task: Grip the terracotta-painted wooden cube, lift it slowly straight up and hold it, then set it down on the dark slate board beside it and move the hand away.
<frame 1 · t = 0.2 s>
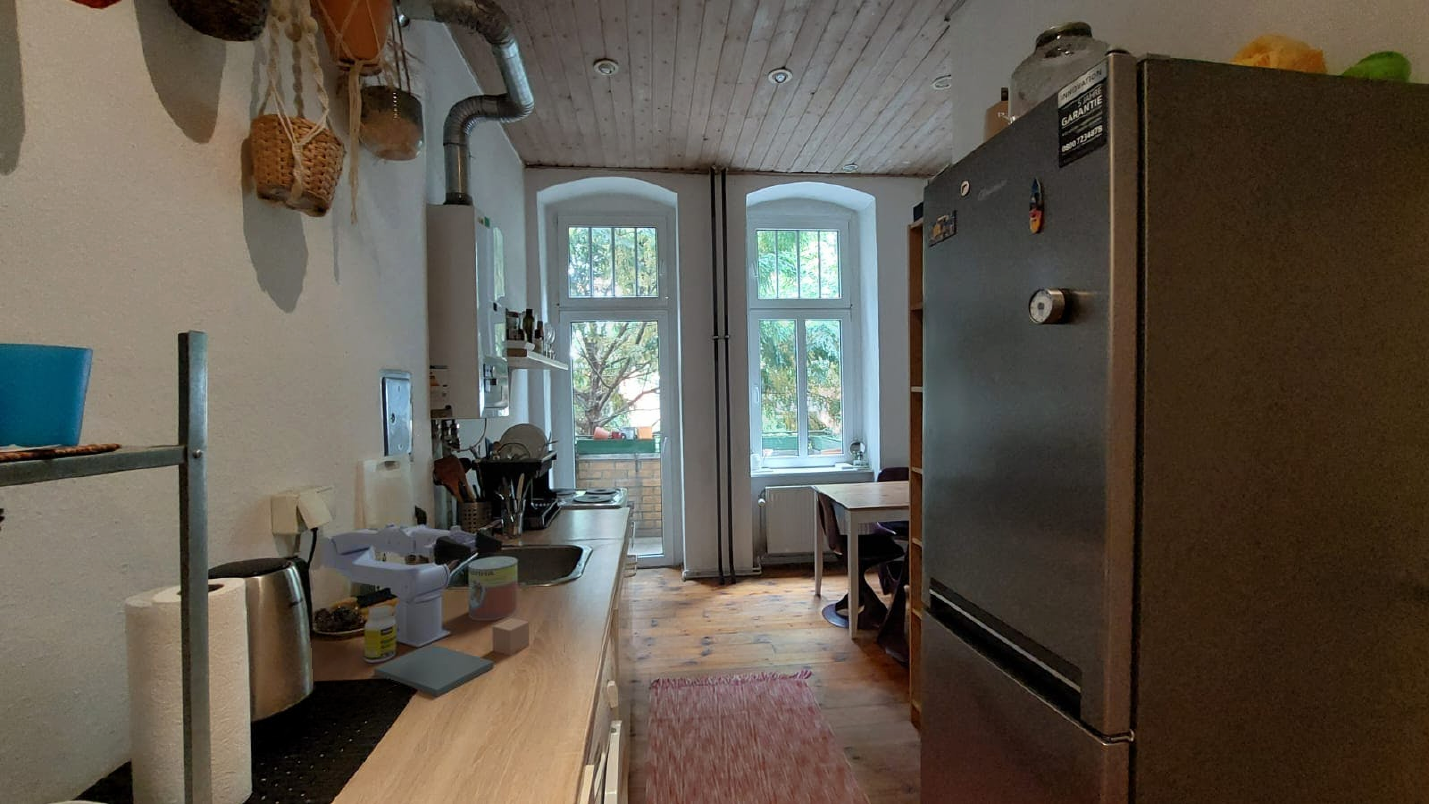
hand: (485, 549, 114), 21 cm above the counter, tool horizontal, fingers open, 7 cm apart
supplement bottle: (380, 658, 114), on the counter
canned food: (493, 612, 139), on the counter
terracotta cube: (511, 648, 118), on the counter
slate board: (434, 671, 108), on the counter
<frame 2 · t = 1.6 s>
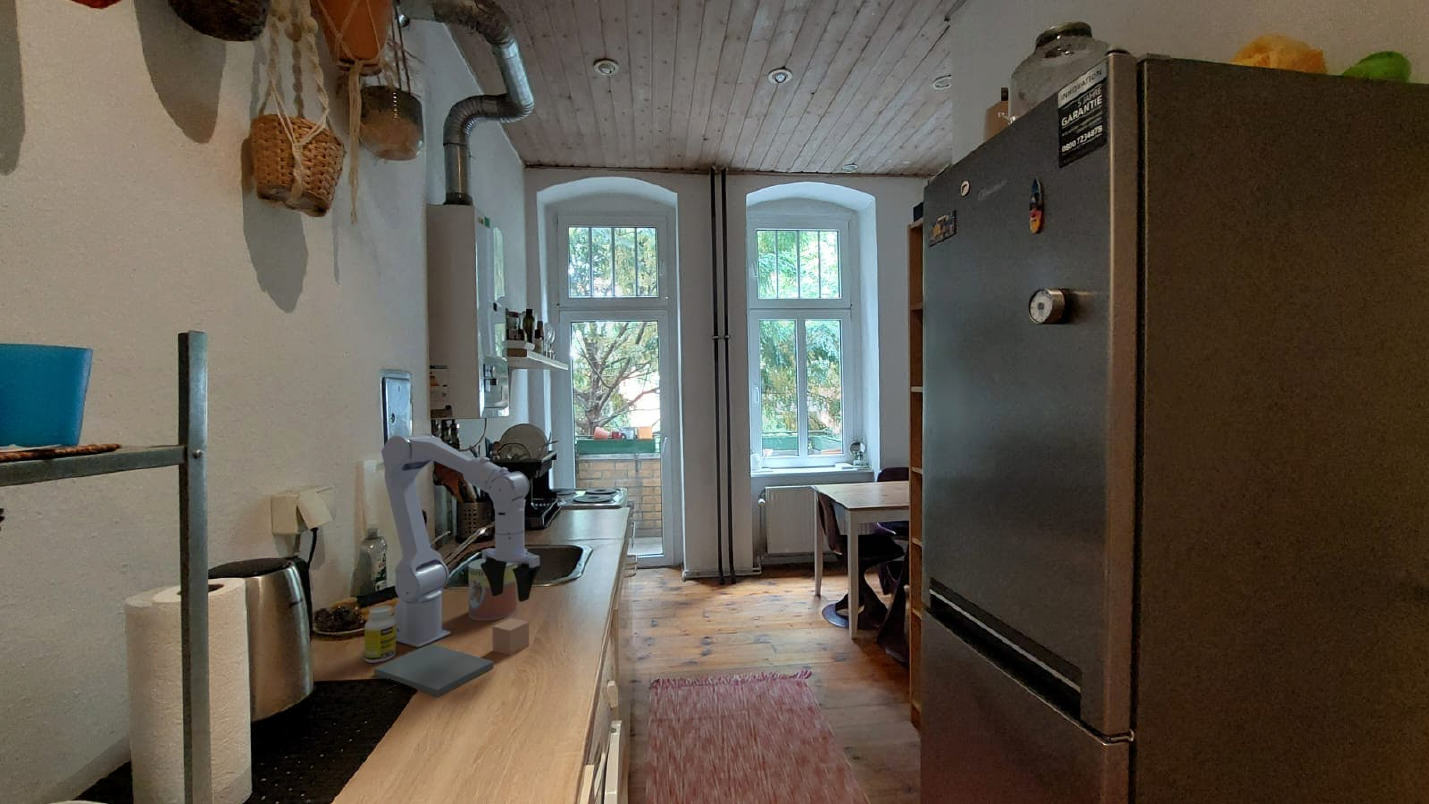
hand: (510, 597, 118), 10 cm above the counter, tool pointing down, fingers open, 7 cm apart
nothing on the counter moved.
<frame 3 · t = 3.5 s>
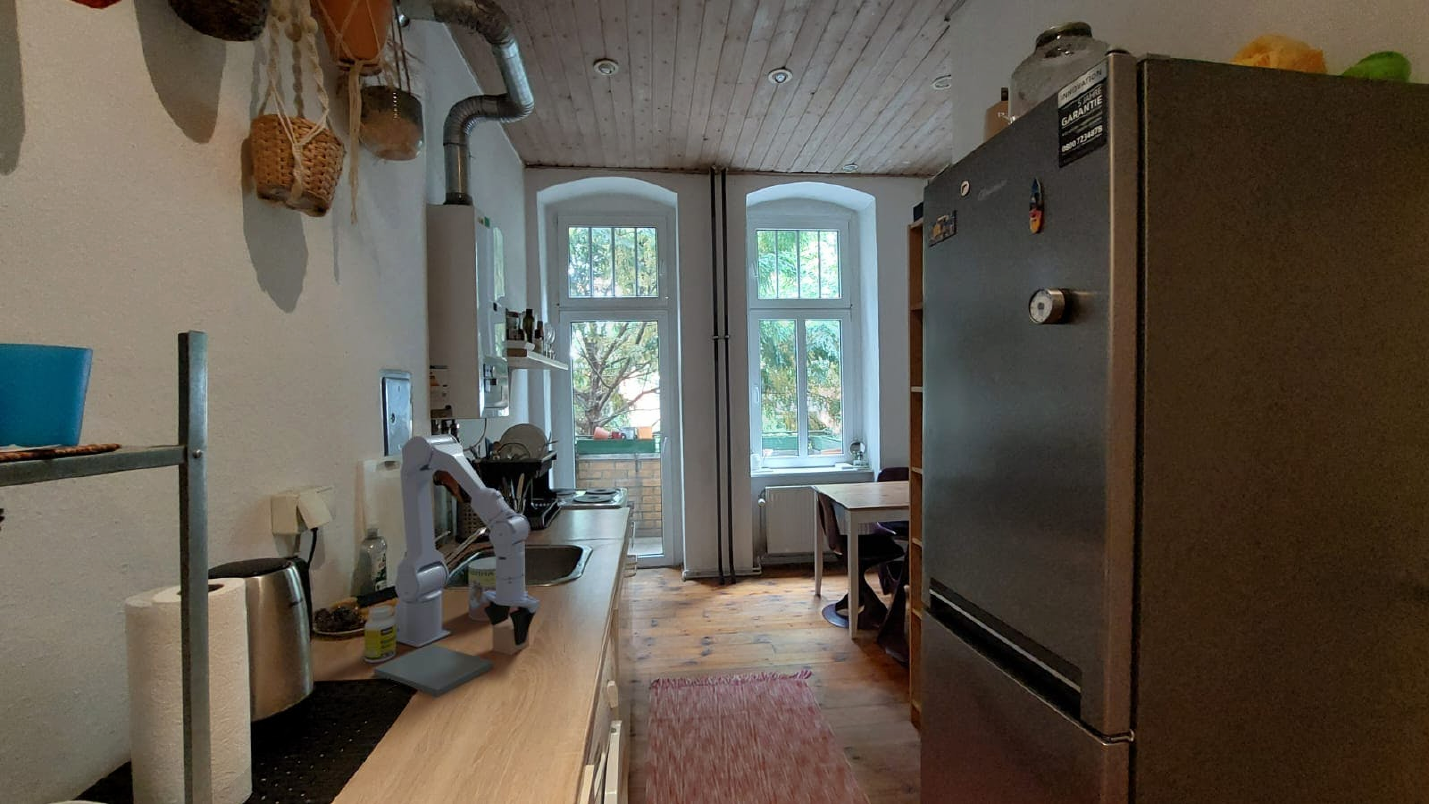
hand: (511, 640, 118), 1 cm above the counter, tool pointing down, fingers closed on terracotta cube, 5 cm apart
terracotta cube: (511, 647, 118), on the counter, touching gripper
everything else where it was.
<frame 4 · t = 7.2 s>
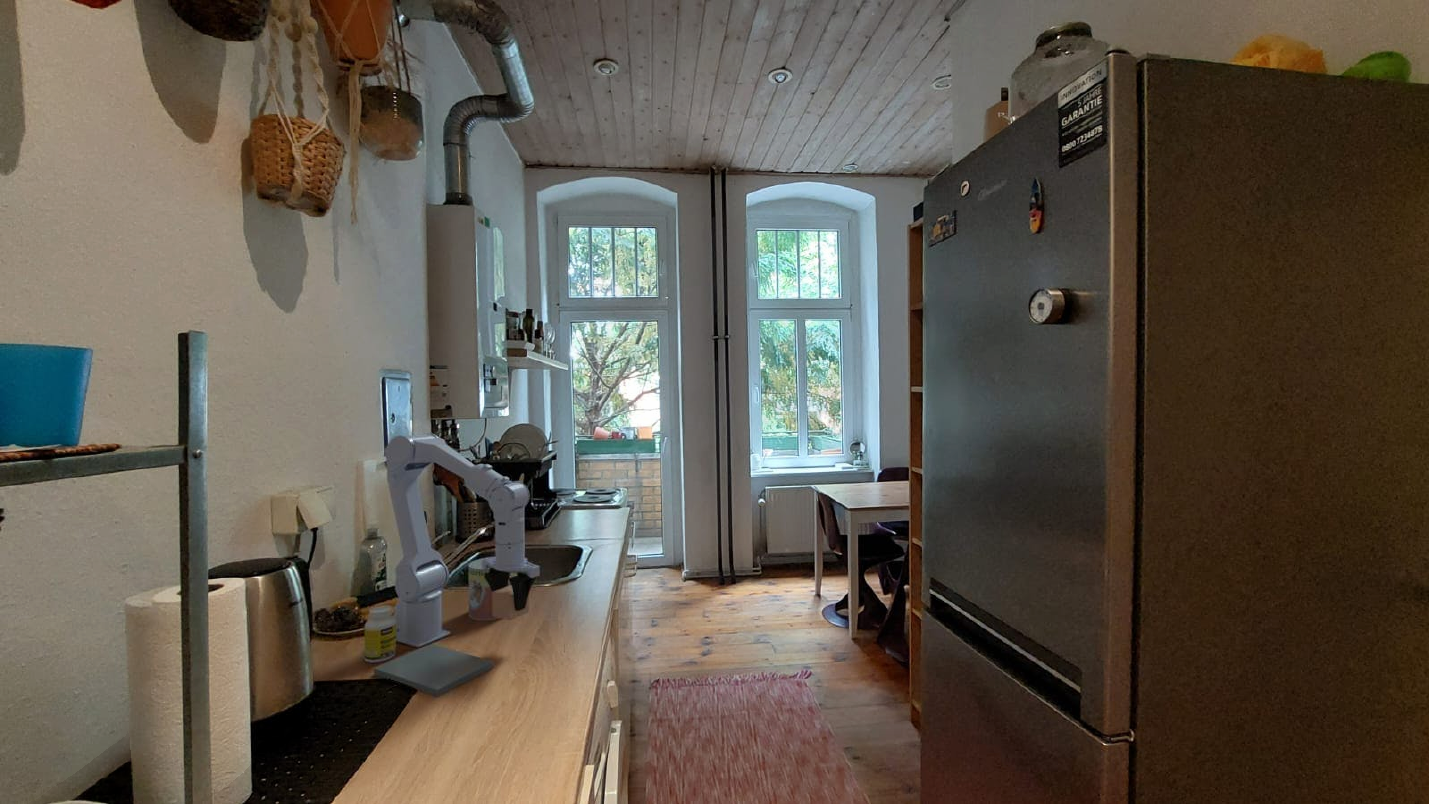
hand: (510, 607, 118), 8 cm above the counter, tool pointing down, fingers closed on terracotta cube, 5 cm apart
terracotta cube: (510, 614, 118), point 7 cm above the counter, touching gripper
everything else where it was.
when the fingers open (4 cm above the counter, at t = 10.8 s): terracotta cube drops 1 cm, resting on slate board.
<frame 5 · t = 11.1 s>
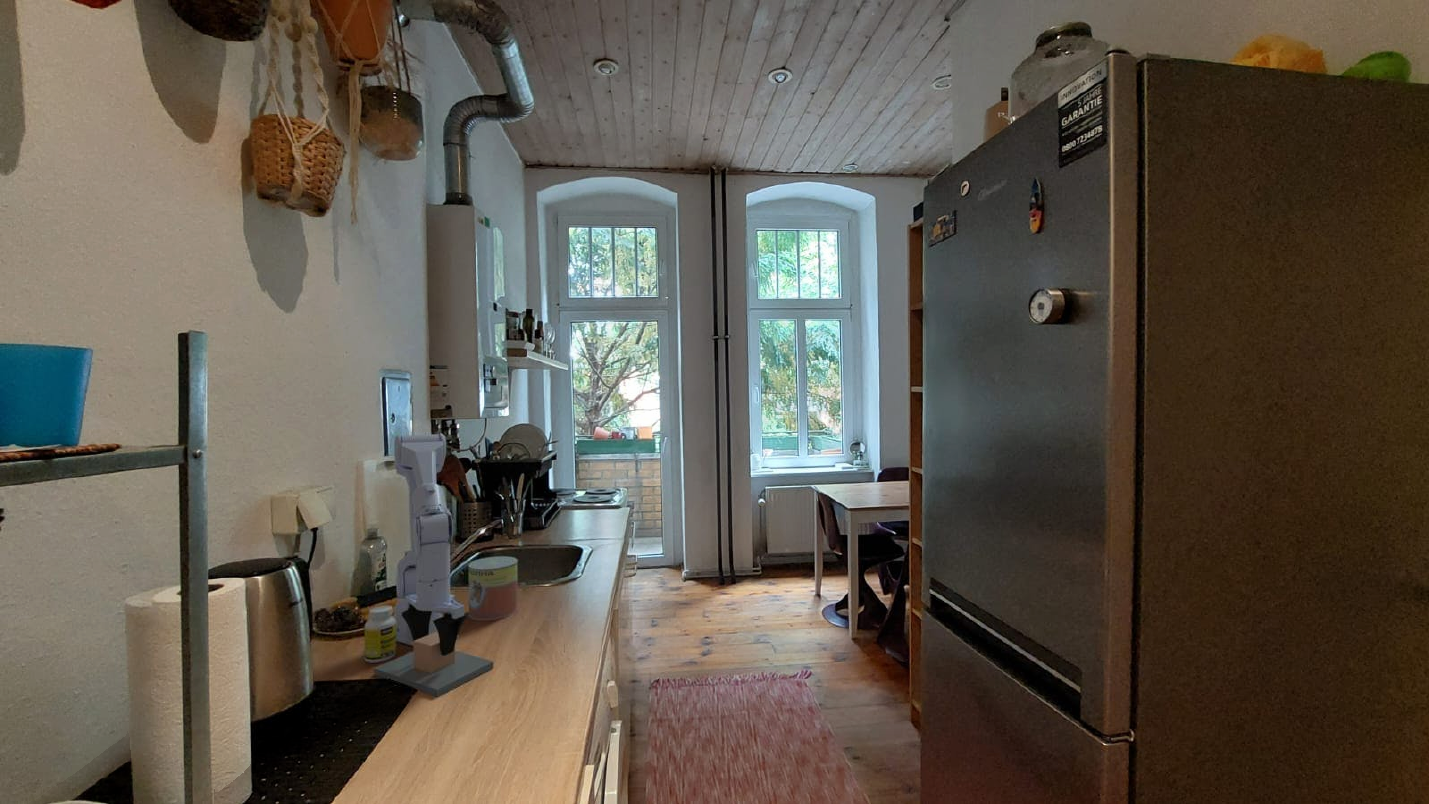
hand: (434, 649, 108), 4 cm above the counter, tool pointing down, fingers open, 7 cm apart
terracotta cube: (434, 664, 108), point 1 cm above the counter, touching slate board
everything else where it was.
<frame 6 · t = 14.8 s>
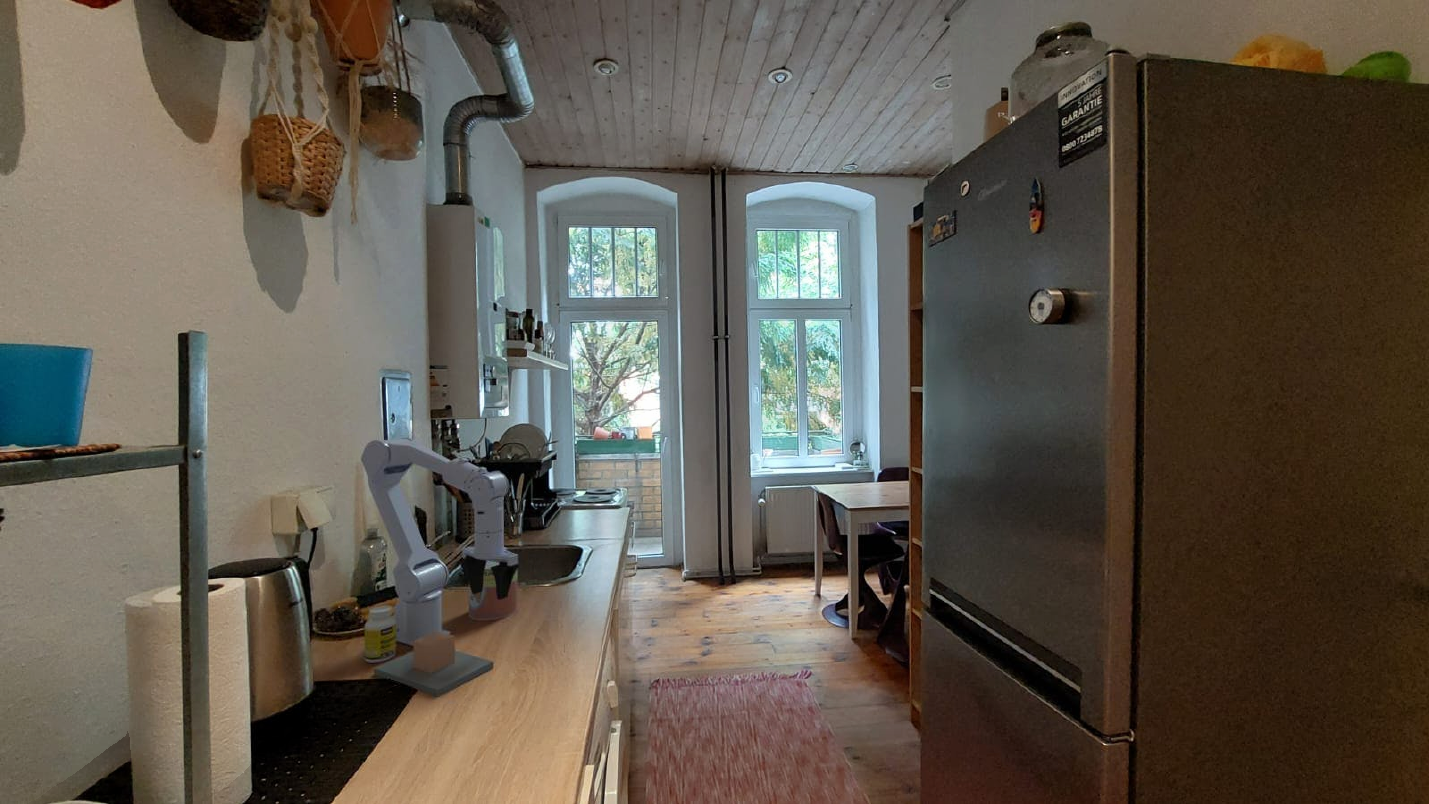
hand: (489, 595, 119), 10 cm above the counter, tool pointing down, fingers open, 7 cm apart
nothing on the counter moved.
at the end: terracotta cube inside the target area on the slate board (0.1 cm from its centre), point 1.2 cm above the slate board's base; terracotta cube tilted 0°; the gripper is holding nothing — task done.
